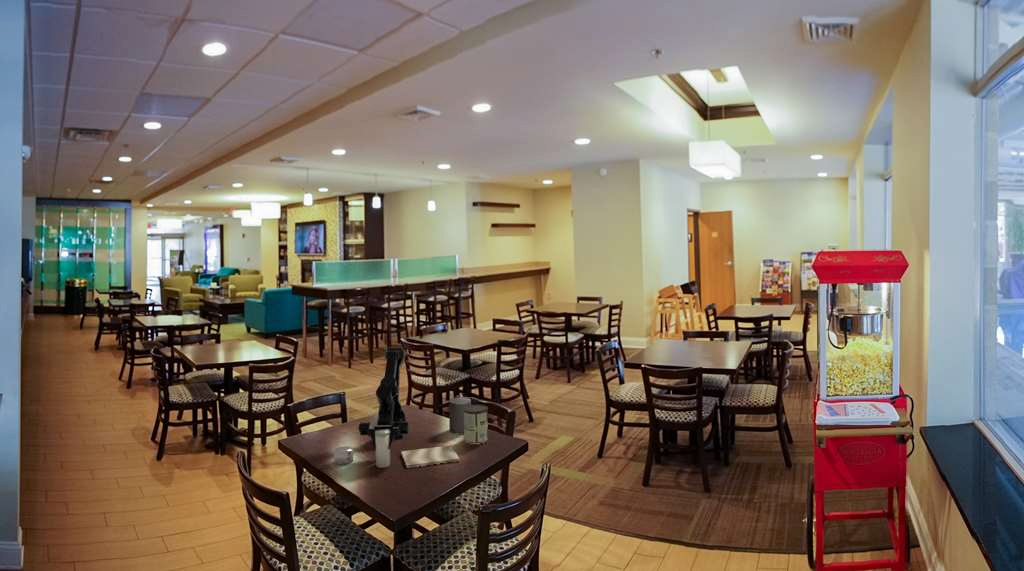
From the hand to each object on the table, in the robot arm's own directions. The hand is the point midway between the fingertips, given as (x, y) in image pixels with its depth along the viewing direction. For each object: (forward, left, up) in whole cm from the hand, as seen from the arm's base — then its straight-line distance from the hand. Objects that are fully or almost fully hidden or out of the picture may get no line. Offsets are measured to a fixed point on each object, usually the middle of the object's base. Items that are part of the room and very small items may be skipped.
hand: (382, 449), depth 215 cm
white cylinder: (0, -1, -7) cm, 7 cm away
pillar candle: (-37, -30, -7) cm, 49 cm away
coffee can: (-40, -15, -7) cm, 44 cm away
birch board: (-18, -2, -7) cm, 20 cm away
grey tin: (+14, -9, -7) cm, 18 cm away
